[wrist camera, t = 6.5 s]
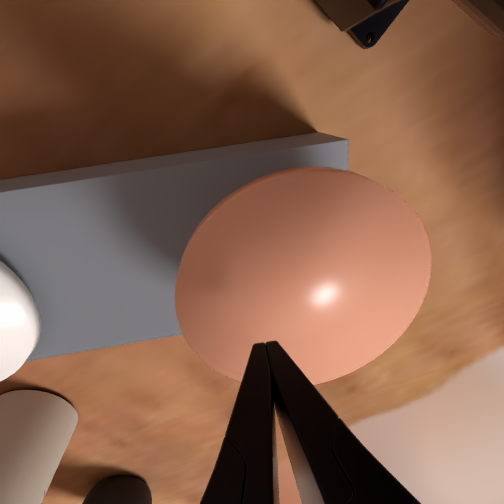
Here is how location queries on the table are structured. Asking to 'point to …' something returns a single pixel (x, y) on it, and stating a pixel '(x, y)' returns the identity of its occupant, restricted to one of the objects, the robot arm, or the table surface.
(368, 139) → the table surface
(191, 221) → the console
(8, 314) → the ivory plug
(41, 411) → the travel mug
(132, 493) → the cola bottle
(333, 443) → the robot arm
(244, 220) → the terracotta plug
